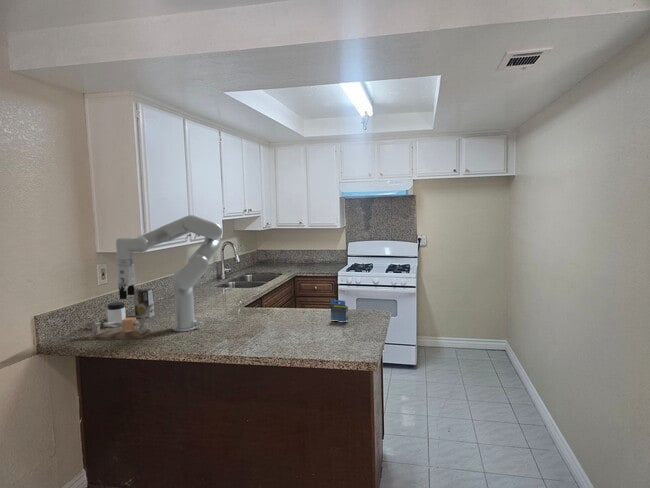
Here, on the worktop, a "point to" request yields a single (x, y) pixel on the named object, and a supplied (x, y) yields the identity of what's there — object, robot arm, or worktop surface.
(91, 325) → the cube slider rail
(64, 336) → the worktop surface
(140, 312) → the coffee box
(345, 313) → the label tape cartridge
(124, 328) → the sleeve
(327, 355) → the worktop surface
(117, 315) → the jar
